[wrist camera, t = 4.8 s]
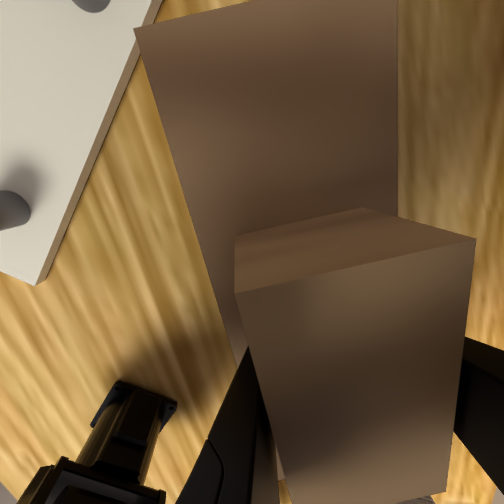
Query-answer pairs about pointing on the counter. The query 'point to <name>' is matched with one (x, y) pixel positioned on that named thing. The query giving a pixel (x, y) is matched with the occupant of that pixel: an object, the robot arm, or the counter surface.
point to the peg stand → (56, 114)
